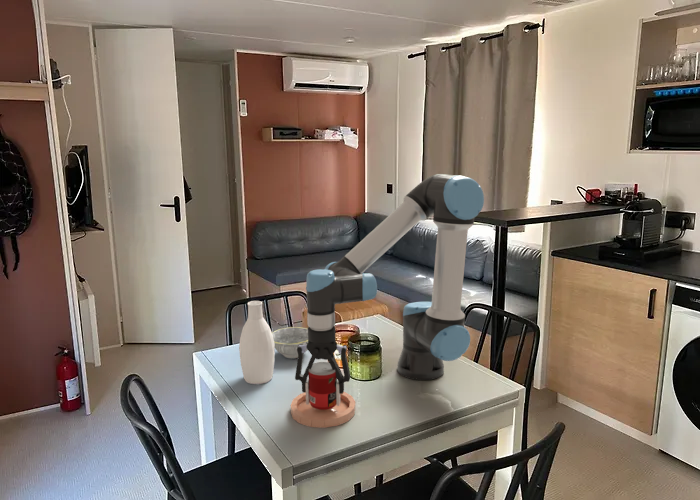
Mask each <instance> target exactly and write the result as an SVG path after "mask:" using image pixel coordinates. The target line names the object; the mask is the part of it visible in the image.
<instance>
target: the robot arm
mask: <svg viewBox="0 0 700 500" xmlns="http://www.w3.org/2000/svg"><path fill="white" fill-rule="evenodd" d="M402 201H403V202H402V203H401V204H400V205H398V207H396V208H395V210H393V211H392V212H391V213H390V214H388V216H387V217H386V218H384V219H383V221H381V222H380V223H379V224H378V225H376V227H374V229H373V230H372V231H370V232H369V233H368V234H367V235H366V236H365V237H364V238H363V239H361V241H360V242H358V243H357V244H356V245H354V247H353V248H352V249H351V250H349V252H347V253H346V254H345V255H344V256H343V257H342V258H341V259H340V260H338V261H332V262H330V263H328V264H327V265H326V266H325V267H324V269H320V268H319V269H314V270H310V271H309V272H307V275H306V282H305V283H306V284H305V285H306V288H305V290H306V304H307V305H306V308H307V311H306V312H307V313H306V314H307V326H308V327H307V329H308V343H307V344H306V345H302V344H299V346H298V348H297V352H298V358H297V361H296V367H295V368H296V369H295V376H294V379H295V381H300V382H301V391H302V393H304V392H306V405H309V403H310V402H309V376H308V375H309V369H311V368H312V365H313V364H314V363H315V360H325V361H326V360H327V362H329V363H330V365H331V367H332V369H333V370H335V373H336V377H337V383H336V398H337V406H339V405H340V394H343V392H345V383H348V382H350V380H351V372H350V367H349V363H348V356H347V350H348V349H347V348H348V346H347V345H345V344H343V345H339V344H338V343H337V341H336V327H335V325H336V314H335V313H336V305H340V304H349V303H357V302H359V303H360V302H365V301H370V300H373V299H375V298H376V296H377V294H378V283H377V279H376V277H375V276H374V274H373V273H370V272H369V273H368V272H367V273H364V272H366V270H368V269H370V267H371V266H372V265H373V264H374V263H375V262H376V261H377V260H379V258H381V257H382V256H383V255H384V254H385V253H386V252H387V251H389V249H391V248H392V247H393V246H394V245H395V244H397V242H398V241H399V240H400V239H402V237H404V235H406V234H407V233H408V232H409V231H410V230H411V229H413V227H414V226H415V225H417V224H418V223H419V222H420V221H423V222H424V221H427V219H428V218H429V217H431V216H432V215H433V216H432V217H433V218H432V219H433V220H432V221H433V223H434V224H435V226H436V227H437V231H436V232H437V233H436V234H437V235H436V245H435V255H434V256H435V258H434V268H433V270H434V271H433V282H432V283H433V284H432V295H431V301H416V302H410V303H407V304H405V305H404V307H403V312H402V350H401V353H400V356H399V358H398V361H397V372H398V374H399V375H401V376H403V378H408V379H411V380H414V381H429V380H434V379H438V378H440V377H442V376H443V375H444V372H445V371H444V370H445V369H444V367H445V364H444V362H452V361H455V360H457V359H460V358H461V357H462V356H463V354H465V353H466V352H467V351H468V349H469V347H470V344H471V334H470V332H469V330H468V329H467V328H466V327H465V320H466V319H465V318H466V314H465V313H464V311H463V310H462V309H461V307H462V298H463V297H462V296H463V287H464V286H463V285H464V276H465V275H464V274H465V273H464V272H465V267H466V266H465V264H466V263H465V262H466V253H467V243H468V234H469V233H468V232H469V231H468V230H469V229H470V228H471V227H472V226H474V224H475V218H476V217H477V216H478V215H479V213H481V211H482V210H483V207H484V204H485V195H484V191H483V189H482V186H481V185H480V184H479V183H478V182H477V181H476V180H475V179H474V178H471V177H467V176H466V175H461V174H460V175H456V174H455V175H453V174H446V173H436V174H433V175H431V176H428V177H427V178H425V179H424V180H422V181H421V182H420V183H419V184H417V185H416V186H415V187H414V188H413V189H412V190H410V191H409V192H408V193H407V194H406V195H405V196H404V197H403V200H402ZM306 349H308V350H307V351H308V352H309V354H310V355H311V357H310V359H309V362H308V364H307V367H306V368H305V370H304V373H303V374H302V369H303V363H304V356H305V353H306V352H307V351H306ZM305 351H306V352H305ZM336 351H338V354H339V355H340V360H341V366H342V370H343V372H342V370H341V368H340V366H339V363H338V362H337V360H336V357H335V355H334V354H335V352H336Z"/></svg>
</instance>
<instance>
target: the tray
mask: <svg viewBox="0 0 700 500" xmlns="http://www.w3.org/2000/svg"><path fill="white" fill-rule="evenodd" d="M356 405H357V404H356V400H355V398H354V397H353V396H352V395H351V394H349V393H347V392H346V391H344V392H343V394H340V405H339V406H337V404H336V406H334V407H333V408H331V409H326V410H320V409H315V408H313V407H312V406H311V404H310V403H309V405H306V392H302V393H300V394H298V395H297V396H295V397H294V398H293V399H292V401H291V404H290V414H291V417H292V419H293V420H294V421H295V422H297V423H298V424H300V425H303V426H306V427H309V428H310V427H311V428H319V429H320V428H321V429H322V428H325V429H326V428H330V427H337V426H340V425H342V424H345V423H347V422H349V421H350V420H351V419H352V418H353V417H354V416H355V414H356V409H357V407H356Z"/></svg>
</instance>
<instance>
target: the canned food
mask: <svg viewBox="0 0 700 500" xmlns="http://www.w3.org/2000/svg"><path fill="white" fill-rule="evenodd" d="M308 379H309V402H310V404H311V406H312V407H313V408H315V409H320V410H326V409H331V408H333V407H334V406H336V404H337V398H336V383H337V380H338V379H337V377H336V373H335V370H333V369H332V367H331V365H330V363H329V362H328V361H318V362H314V363H313V365H312V368H311V369H309V375H308Z"/></svg>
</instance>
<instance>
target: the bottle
mask: <svg viewBox="0 0 700 500" xmlns="http://www.w3.org/2000/svg"><path fill="white" fill-rule="evenodd" d="M272 332H273V331H272V330H271V328H270V325H269V324H268V322H267V321H266V319H265V318H264V315H263V302H262V301H260V300H251V301H248V302H247V320H246V322H245V323H244V325H243V327H242V330H241V334H240V338H239V346H238V348H239V349H238V350H239V359H240V366H241V372H242V375H243V378H244V381H245V382H246V383H248V384H249V385H262V384H266V383H268V382H270V381H271V380H272V379H273V376H274V367H275V344H274V339H273V335H272Z"/></svg>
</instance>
